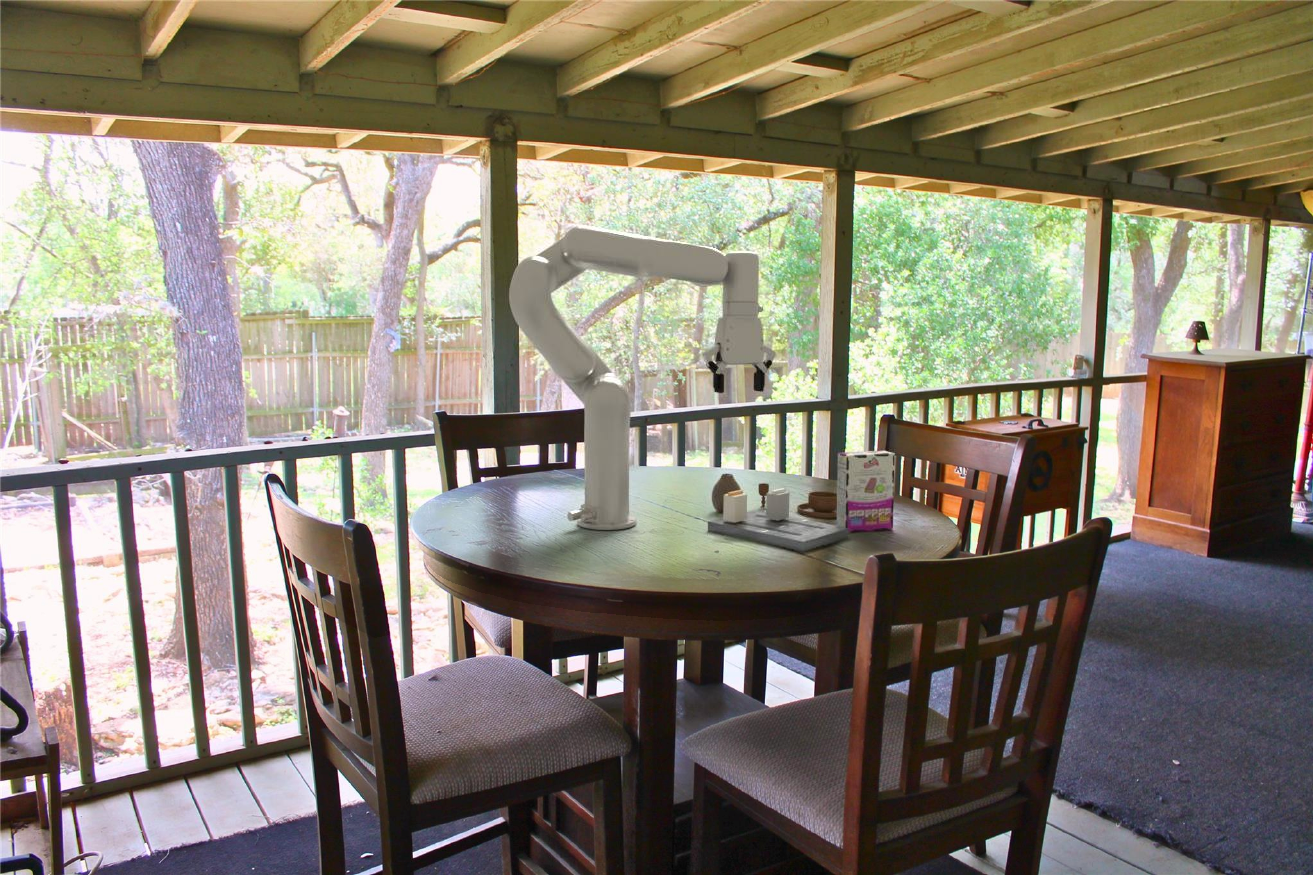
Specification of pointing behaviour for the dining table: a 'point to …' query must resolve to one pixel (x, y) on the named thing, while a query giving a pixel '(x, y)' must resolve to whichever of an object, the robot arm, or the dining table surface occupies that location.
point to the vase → (723, 490)
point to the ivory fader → (735, 506)
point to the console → (781, 531)
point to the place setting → (811, 503)
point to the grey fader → (777, 504)
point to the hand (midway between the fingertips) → (738, 391)
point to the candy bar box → (865, 490)
